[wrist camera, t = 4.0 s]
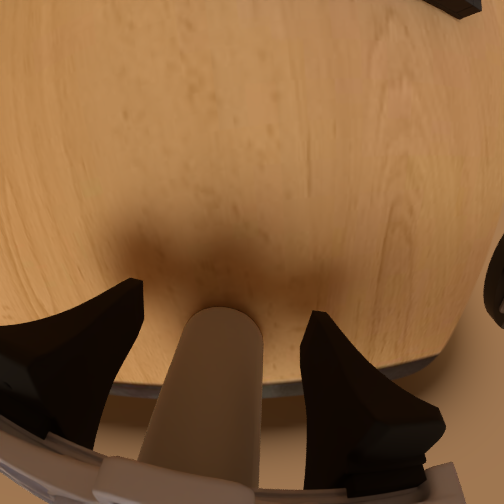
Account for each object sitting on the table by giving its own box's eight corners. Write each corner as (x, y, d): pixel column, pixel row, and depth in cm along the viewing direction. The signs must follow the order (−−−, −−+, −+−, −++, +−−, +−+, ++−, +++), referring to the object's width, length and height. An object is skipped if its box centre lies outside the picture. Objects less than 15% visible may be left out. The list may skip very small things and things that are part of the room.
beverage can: (186, 356, 19) (138, 527, 8) (182, 296, 17) (103, 499, 6) (260, 365, 18) (250, 546, 8) (268, 305, 16) (262, 529, 6)
